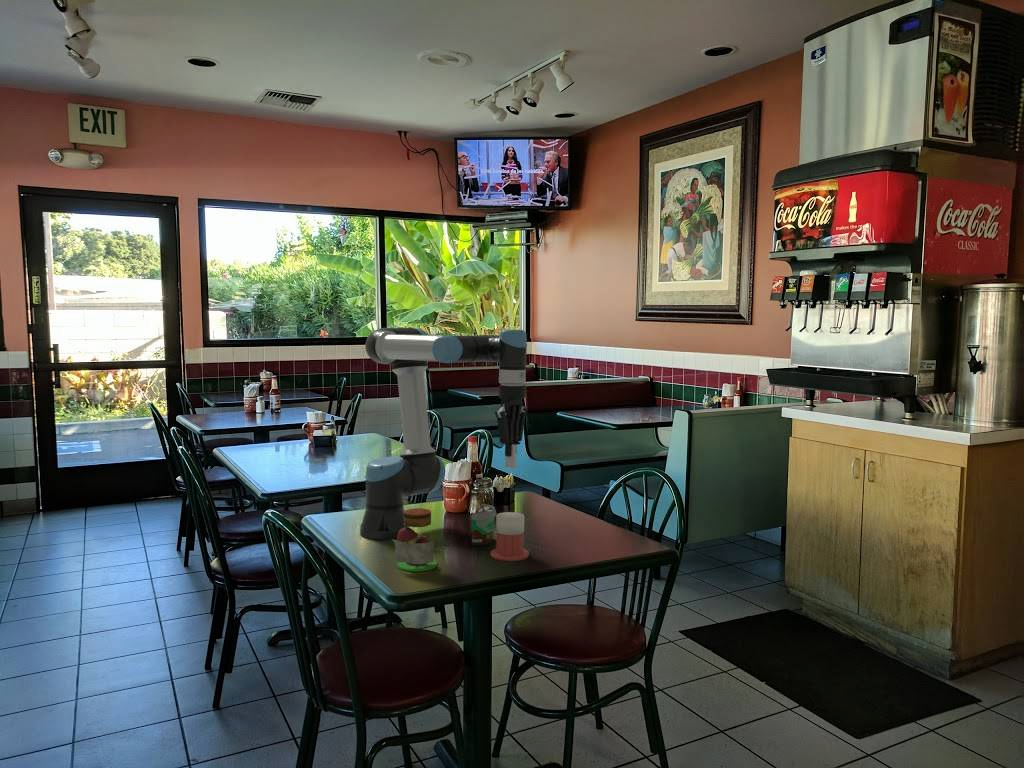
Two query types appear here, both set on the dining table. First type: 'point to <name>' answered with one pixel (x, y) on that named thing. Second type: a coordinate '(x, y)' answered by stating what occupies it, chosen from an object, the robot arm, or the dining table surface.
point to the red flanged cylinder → (509, 548)
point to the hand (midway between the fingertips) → (510, 467)
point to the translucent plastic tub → (418, 552)
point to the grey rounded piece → (510, 523)
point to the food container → (483, 524)
